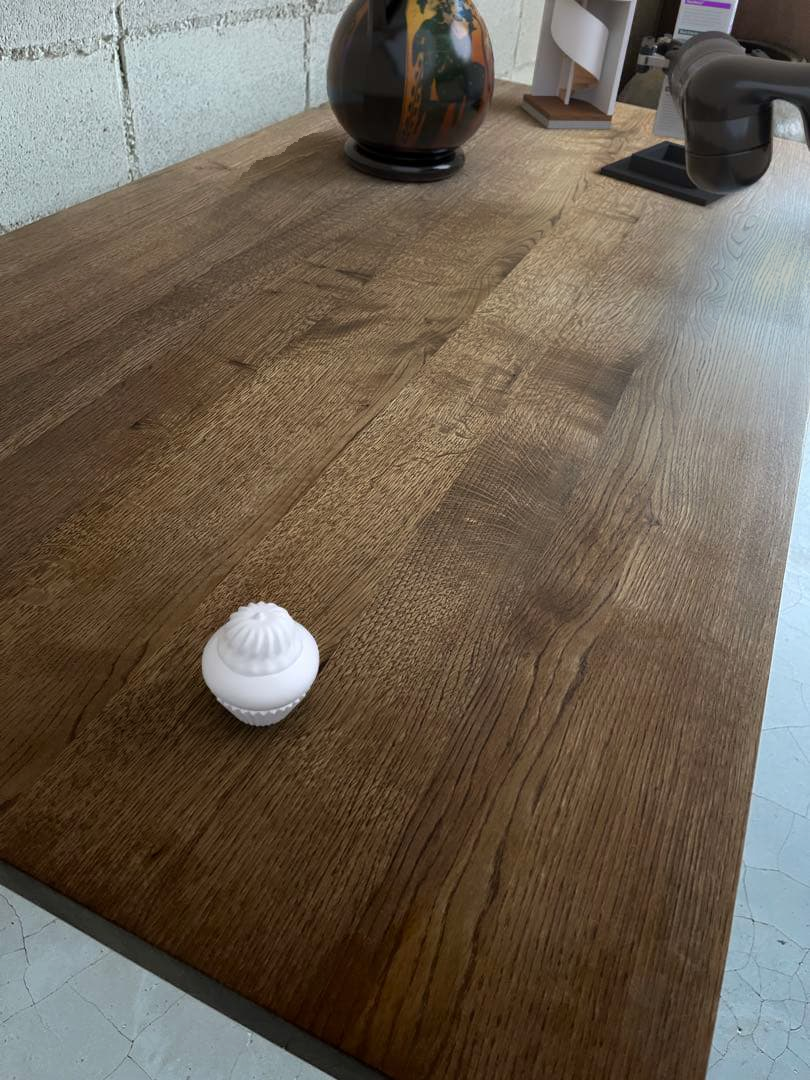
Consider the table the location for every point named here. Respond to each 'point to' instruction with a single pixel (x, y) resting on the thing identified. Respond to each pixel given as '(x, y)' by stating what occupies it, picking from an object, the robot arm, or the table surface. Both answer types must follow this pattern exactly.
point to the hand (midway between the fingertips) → (696, 47)
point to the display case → (579, 62)
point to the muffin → (260, 663)
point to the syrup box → (701, 10)
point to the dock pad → (660, 172)
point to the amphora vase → (410, 85)
